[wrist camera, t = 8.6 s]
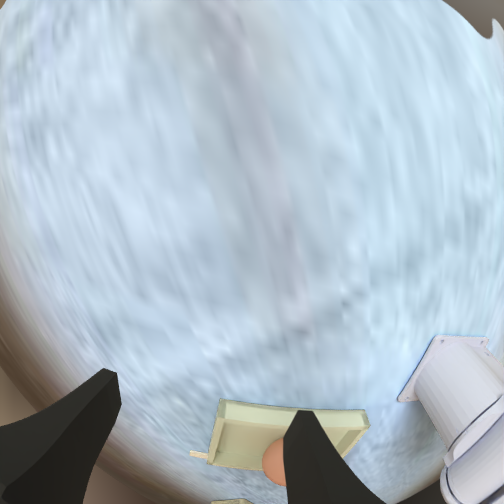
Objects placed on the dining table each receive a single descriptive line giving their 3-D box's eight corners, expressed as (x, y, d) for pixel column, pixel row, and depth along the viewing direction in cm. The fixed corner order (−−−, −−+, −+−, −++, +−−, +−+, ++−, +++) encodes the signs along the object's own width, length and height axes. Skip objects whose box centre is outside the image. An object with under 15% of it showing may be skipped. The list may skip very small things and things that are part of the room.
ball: (319, 427, 23) (340, 467, 18) (286, 455, 23) (302, 493, 18) (277, 422, 21) (297, 470, 16) (245, 451, 22) (258, 495, 16)
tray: (364, 409, 22) (370, 425, 19) (328, 456, 24) (331, 470, 22) (219, 398, 21) (217, 417, 19) (208, 448, 24) (206, 463, 22)
